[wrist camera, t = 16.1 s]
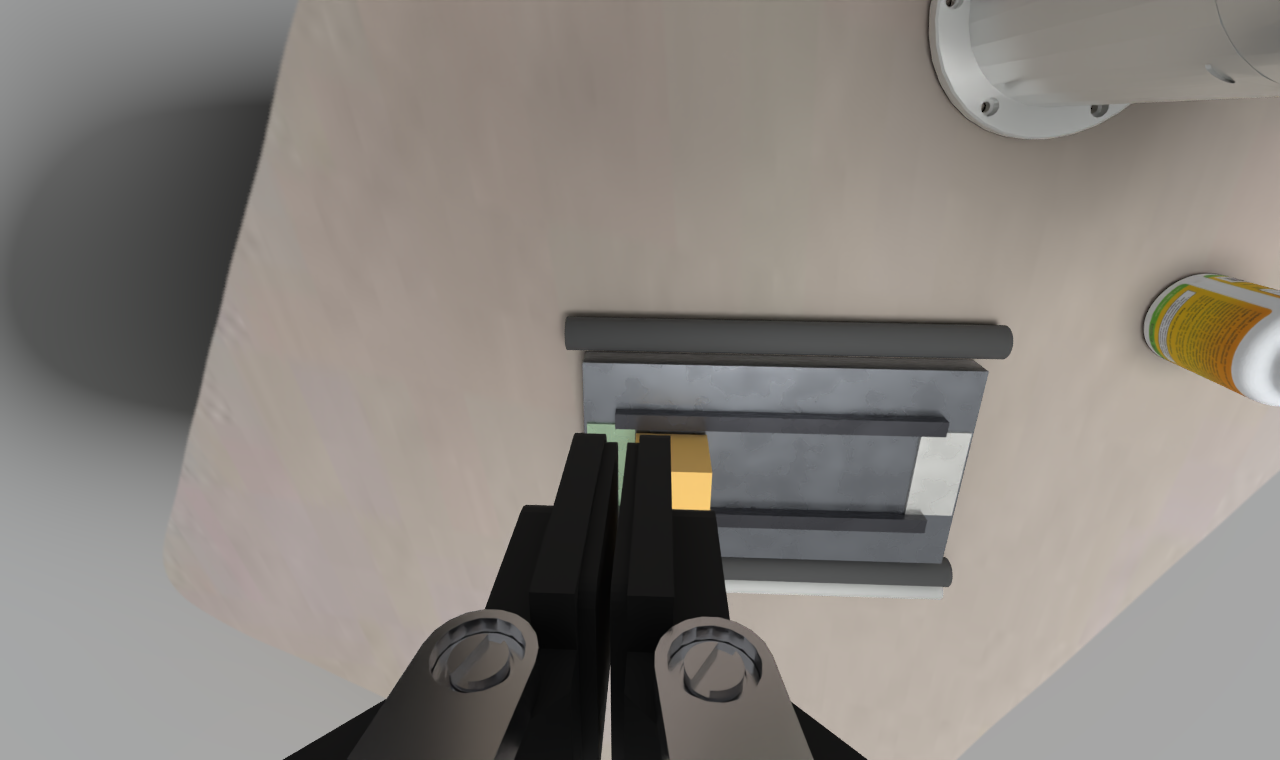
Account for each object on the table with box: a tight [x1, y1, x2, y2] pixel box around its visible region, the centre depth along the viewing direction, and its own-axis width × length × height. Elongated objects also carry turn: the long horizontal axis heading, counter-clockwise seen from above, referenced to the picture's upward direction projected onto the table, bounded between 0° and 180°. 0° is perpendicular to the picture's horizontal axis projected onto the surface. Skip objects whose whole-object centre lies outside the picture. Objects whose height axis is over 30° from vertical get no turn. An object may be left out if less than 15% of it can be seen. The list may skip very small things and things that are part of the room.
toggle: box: [635, 433, 712, 510], centre depth 37 cm, size 4×5×4 cm
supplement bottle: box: [1144, 274, 1280, 407], centre depth 32 cm, size 5×5×10 cm
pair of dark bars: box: [565, 317, 1013, 600], centre depth 40 cm, size 26×20×2 cm
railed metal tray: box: [583, 351, 988, 564], centre depth 40 cm, size 24×14×3 cm, turn 89°
